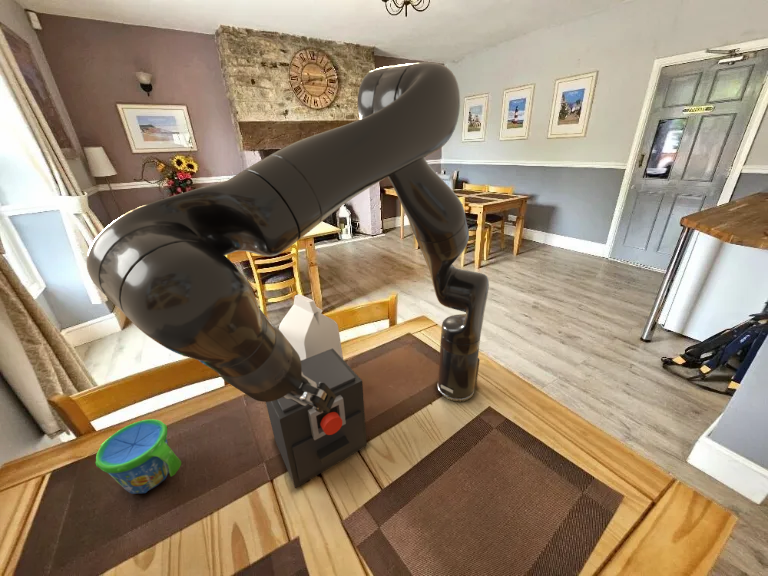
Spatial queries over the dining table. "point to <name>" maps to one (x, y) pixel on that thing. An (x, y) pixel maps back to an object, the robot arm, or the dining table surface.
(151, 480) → the snack cup
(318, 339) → the milk
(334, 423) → the power button
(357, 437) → the dark grey button box
